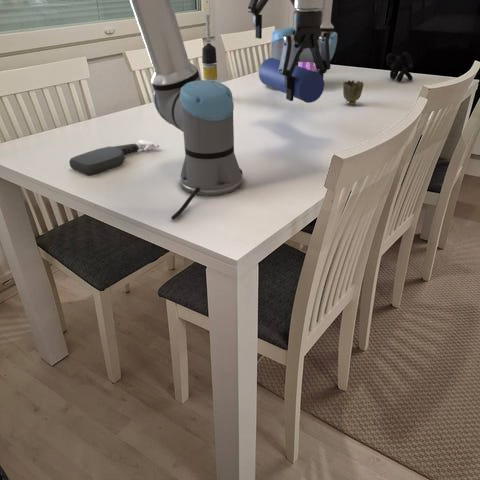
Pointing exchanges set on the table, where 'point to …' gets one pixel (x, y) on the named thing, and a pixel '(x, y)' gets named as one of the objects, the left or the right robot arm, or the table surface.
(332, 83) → the table surface
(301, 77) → the rod
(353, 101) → the cup
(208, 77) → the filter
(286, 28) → the right robot arm
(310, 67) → the bracket
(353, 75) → the table surface
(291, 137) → the table surface
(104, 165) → the spray bottle
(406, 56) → the squiggle
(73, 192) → the table surface
